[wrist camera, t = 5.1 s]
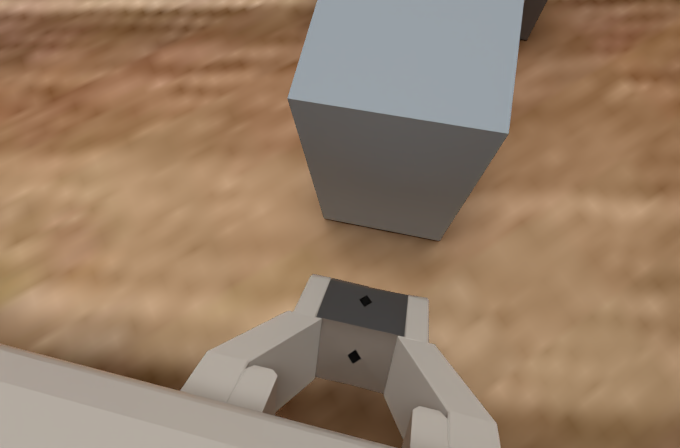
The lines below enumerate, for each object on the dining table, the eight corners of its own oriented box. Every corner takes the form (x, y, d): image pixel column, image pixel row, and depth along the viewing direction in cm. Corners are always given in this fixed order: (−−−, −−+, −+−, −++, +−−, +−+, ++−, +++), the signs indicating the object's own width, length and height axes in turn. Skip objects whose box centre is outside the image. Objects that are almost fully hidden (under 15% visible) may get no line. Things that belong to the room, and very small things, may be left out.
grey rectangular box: (439, 240, 15) (508, 133, 8) (324, 218, 16) (287, 98, 8) (478, -4, 19) (552, -239, 11) (382, -16, 19) (392, -246, 12)
